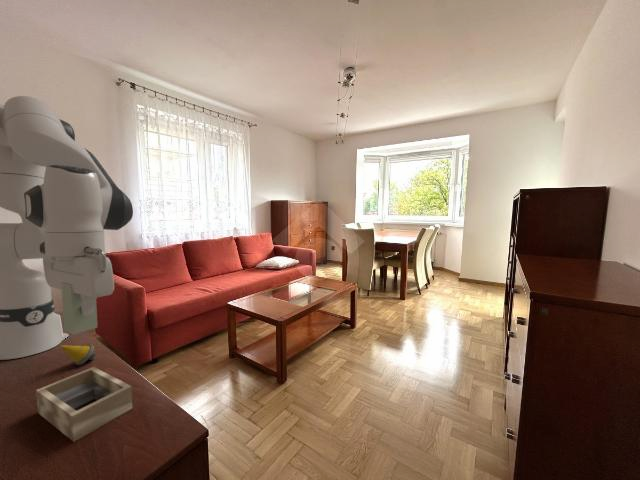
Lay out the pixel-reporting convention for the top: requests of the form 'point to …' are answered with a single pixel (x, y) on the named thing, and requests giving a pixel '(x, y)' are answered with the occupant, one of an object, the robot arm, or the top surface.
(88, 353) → the drill bit
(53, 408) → the box
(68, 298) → the peg
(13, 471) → the top surface
